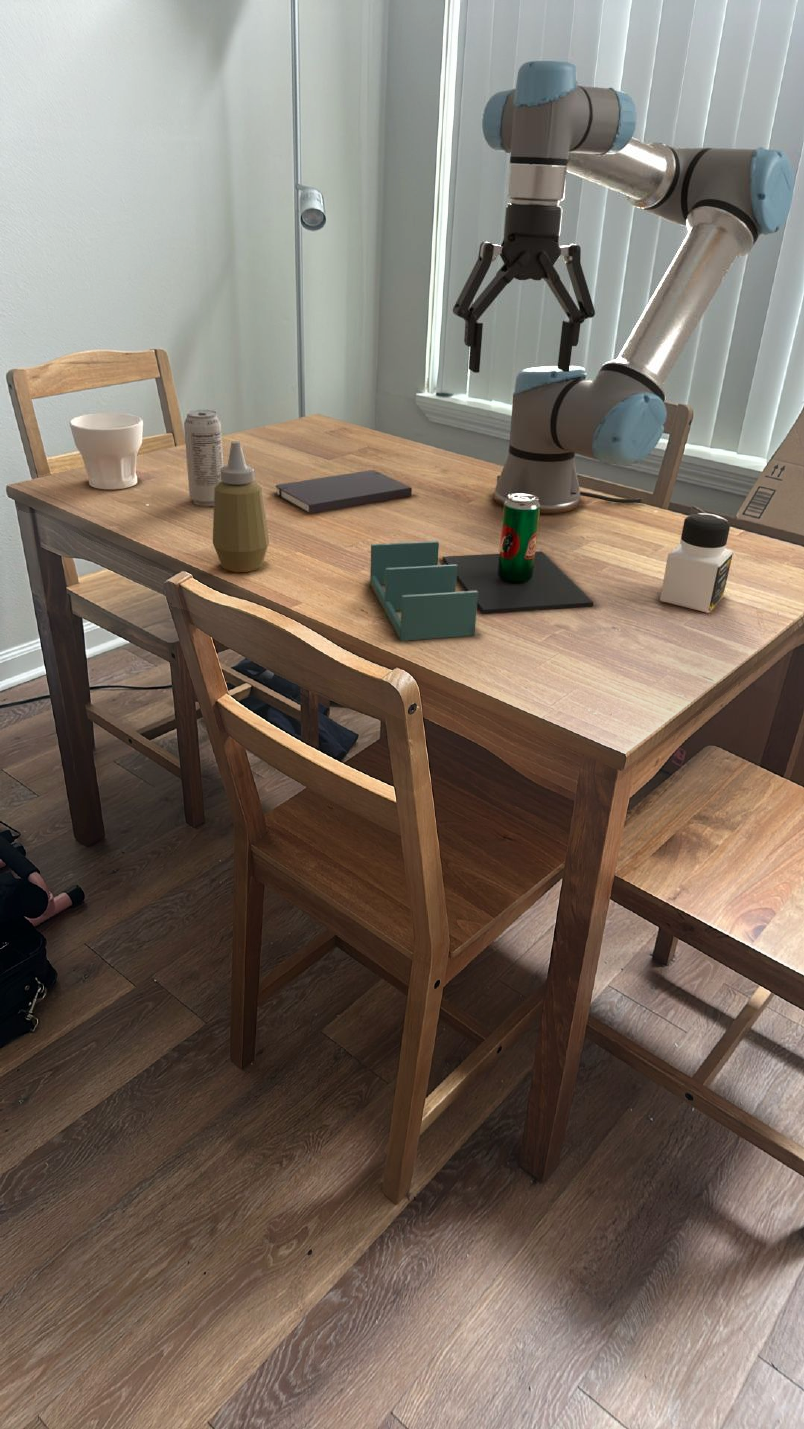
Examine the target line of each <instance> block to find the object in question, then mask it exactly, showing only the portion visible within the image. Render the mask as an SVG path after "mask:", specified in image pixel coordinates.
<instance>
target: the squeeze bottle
mask: <svg viewBox="0 0 804 1429" xmlns="http://www.w3.org/2000/svg"><path fill="white" fill-rule="evenodd" d="M220 473H221V482H220V483H218V484H217V485H216V486H215V493H214V506H213V518H212V519H213V520H212V522H213V523H212V545H213V548H214V550H215V552H216V555H217V557H218V559H219V562H220V564H221V567H222V568H223V569H225V570H226V571H230V572H235V573H246V572H247V573H248V572H253V571H257V570H258V569H260V568H262V566H263V564H264V560H265V557H266V554H267V551H268V547H269V545H270V539H269V531H268V525H267V518H266V512H265V504H264V503H265V502H264V496H263V490H262V486H261V485H260V484H259V483H258V482H257V481H255V469H254V467H253V466H251V465H247V464H246V459H245V456H244V452H243V448H242V444H241V442H240V441H238V440H233V441H231V443H230V449H229V455H228V461H227V464H226V465H223V467H222V468H221V469H220Z"/></svg>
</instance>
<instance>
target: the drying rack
mask: <svg viewBox="0 0 804 1429" xmlns="http://www.w3.org/2000/svg"><path fill="white" fill-rule="evenodd" d="M439 549H440V541H438V540H428V541H427V540H425V541H408V542H406V541H405V542H388V543H387V542H386V543H371V544H370V570H369V571H370V573H369V584H370V587H371V588H372V590H373V592H374V594H375V596H376V598H377V599H378V601H379V603H380V605H381V607H382V609H383V611H384V612H385V614H386V616H387V618H388V620H389V622H390V623H391V626H392V627H393V629H394V630H395V632H396V635H397V636H398V639H399V640H400V641H401V642H405V641H406V642H407V641H421V640H433V639H446V638H447V639H448V638H459V637H460V638H461V637H474V636H475V635H476V623H477V612H478V606H477V599H478V592H477V591H466V590H463V591H456V590H457V579H456V578H457V565H456V564H452V565H446V564H439V552H440V550H439ZM382 586H384V589H383V587H382ZM399 611H400V617H399V615H398V614H397V612H399Z"/></svg>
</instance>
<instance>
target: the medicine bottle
mask: <svg viewBox="0 0 804 1429" xmlns="http://www.w3.org/2000/svg"><path fill="white" fill-rule="evenodd" d="M730 530H731V524H730V521H728V520H727V519H726V518H724V517H722V516H720V515H717V514H713V513H706V512H698V513H692V514H690V515H688V516H686V517H685V518H684V520H683V525H682V531H681V536H680V541H679V544H678V545H677V546H676V547H675V548H673V549H672V550H671V551H670V552H669V553H668V555H667V559H666V565H665V570H664V575H663V579H662V586H661V592H660V596H659V601H660V602H661V603H667V604H670V605H674V606H678V607H682V608H687V609H691V610H693V611H694V610H695V611H699V612H703V613H707V614H708V613H710V612H711V611H712V610H713V609H714V608H715V607H716V606H717V605H718V603H719V602H720V601H721V600H722V599H723V597H724V594H725V591H726V585H727V581H728V578H729V573H730V568H731V564H732V560H733V555H734V551H733V550H732V549H728V548H726V547H727V542H728V538H729V533H730Z"/></svg>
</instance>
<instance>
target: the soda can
mask: <svg viewBox="0 0 804 1429" xmlns="http://www.w3.org/2000/svg"><path fill="white" fill-rule="evenodd" d="M538 500H539V499H538V497H537V496H535V495H533V494H529V493H512V494H509V495H508V496H507V500H506V501H505V502H504V506H503V510H502V521H501V522H502V523H501V531H500V543H499V552H498V554H499V562H498V576H499V577H500V578H501V579H502V580H503V581H505V582H508V583H514V584H520V583H525V582H528V581H529V580H530V579H531V578H532V576H533V568H534V559H535V552H536V550H537V549H536V548H537V541H538V540H537V539H538V531H539V523H540V514H541V513H540V504H539V502H538Z"/></svg>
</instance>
